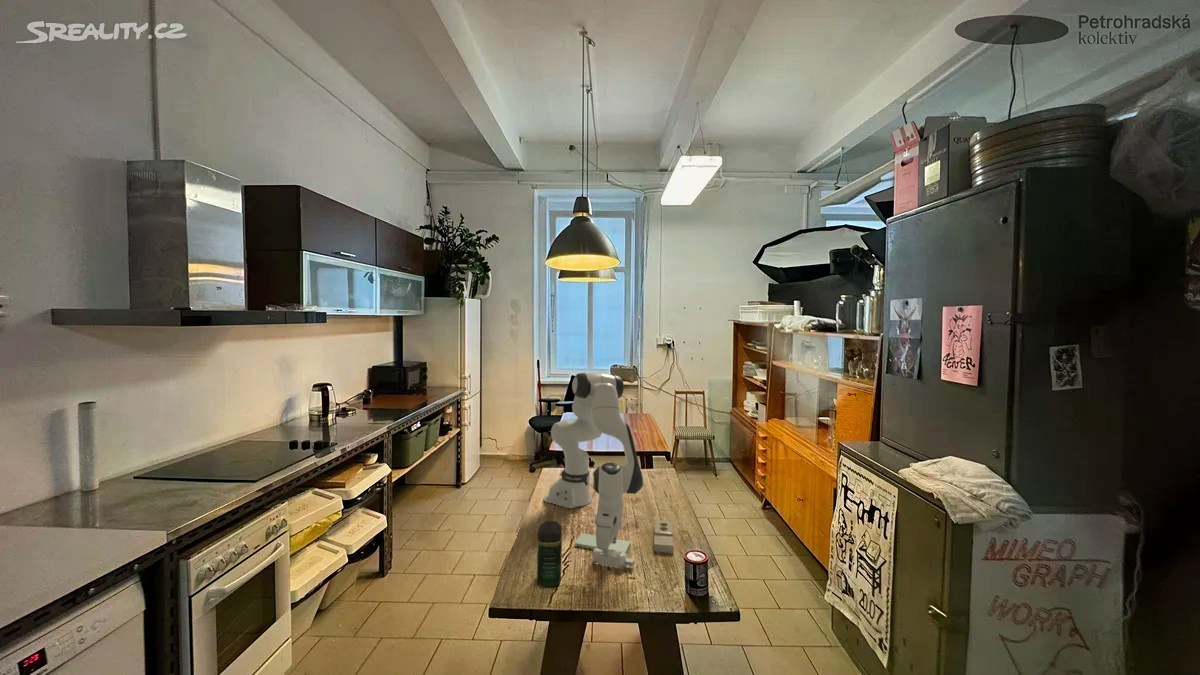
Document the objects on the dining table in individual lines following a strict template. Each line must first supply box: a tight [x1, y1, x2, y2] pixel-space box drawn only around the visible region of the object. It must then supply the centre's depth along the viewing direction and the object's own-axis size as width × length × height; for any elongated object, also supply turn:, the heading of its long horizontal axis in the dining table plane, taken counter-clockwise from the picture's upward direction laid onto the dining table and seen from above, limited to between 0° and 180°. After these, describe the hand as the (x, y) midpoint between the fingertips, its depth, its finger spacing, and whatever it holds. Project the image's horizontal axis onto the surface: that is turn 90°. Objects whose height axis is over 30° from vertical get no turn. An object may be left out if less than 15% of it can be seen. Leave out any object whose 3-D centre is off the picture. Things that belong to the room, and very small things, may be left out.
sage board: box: [574, 532, 632, 554], centre depth 170 cm, size 20×8×1 cm, turn 72°
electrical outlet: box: [653, 519, 675, 554], centre depth 174 cm, size 7×4×18 cm
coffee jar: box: [536, 520, 563, 588], centre depth 147 cm, size 10×8×19 cm
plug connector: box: [592, 548, 635, 570], centre depth 157 cm, size 15×4×4 cm, turn 72°
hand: (609, 549), depth 157 cm, fingers open, 8 cm apart
